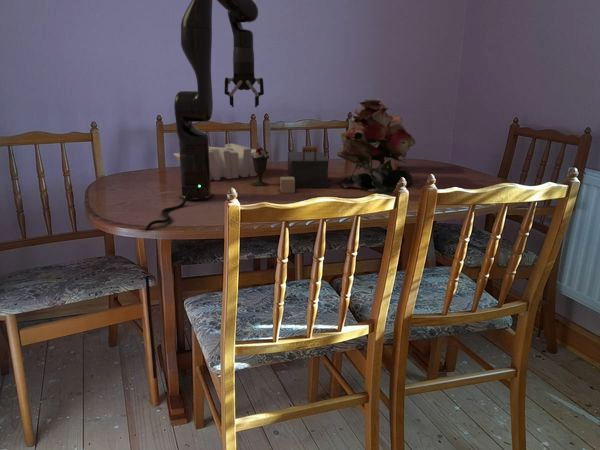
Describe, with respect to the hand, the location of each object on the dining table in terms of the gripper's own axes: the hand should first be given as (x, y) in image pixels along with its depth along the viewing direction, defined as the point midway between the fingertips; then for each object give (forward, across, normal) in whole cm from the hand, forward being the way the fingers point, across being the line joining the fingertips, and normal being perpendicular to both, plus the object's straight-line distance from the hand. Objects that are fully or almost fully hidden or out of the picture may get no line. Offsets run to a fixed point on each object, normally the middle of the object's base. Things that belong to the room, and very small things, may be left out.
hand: (244, 107), depth 197 cm
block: (+26, +14, -25) cm, 39 cm away
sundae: (+26, +5, -14) cm, 30 cm away
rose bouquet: (+26, +45, -16) cm, 54 cm away
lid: (+17, +22, -13) cm, 31 cm away
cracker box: (+26, +60, +10) cm, 66 cm away
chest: (+26, +22, -12) cm, 36 cm away
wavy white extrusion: (+26, -8, +4) cm, 28 cm away
